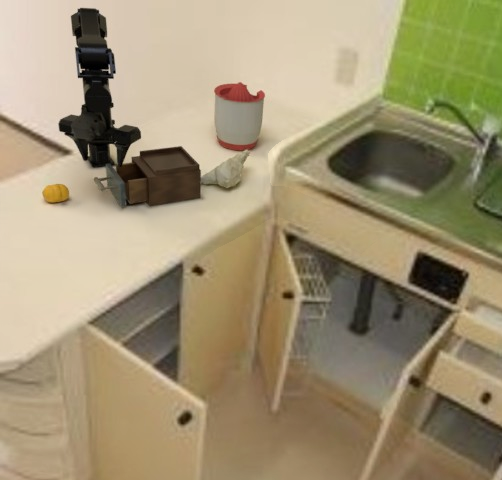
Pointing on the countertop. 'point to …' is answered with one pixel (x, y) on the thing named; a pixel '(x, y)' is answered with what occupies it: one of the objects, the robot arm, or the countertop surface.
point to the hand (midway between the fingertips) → (102, 163)
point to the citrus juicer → (238, 116)
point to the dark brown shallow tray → (169, 160)
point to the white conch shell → (227, 171)
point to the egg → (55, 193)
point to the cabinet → (170, 185)
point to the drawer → (125, 183)
